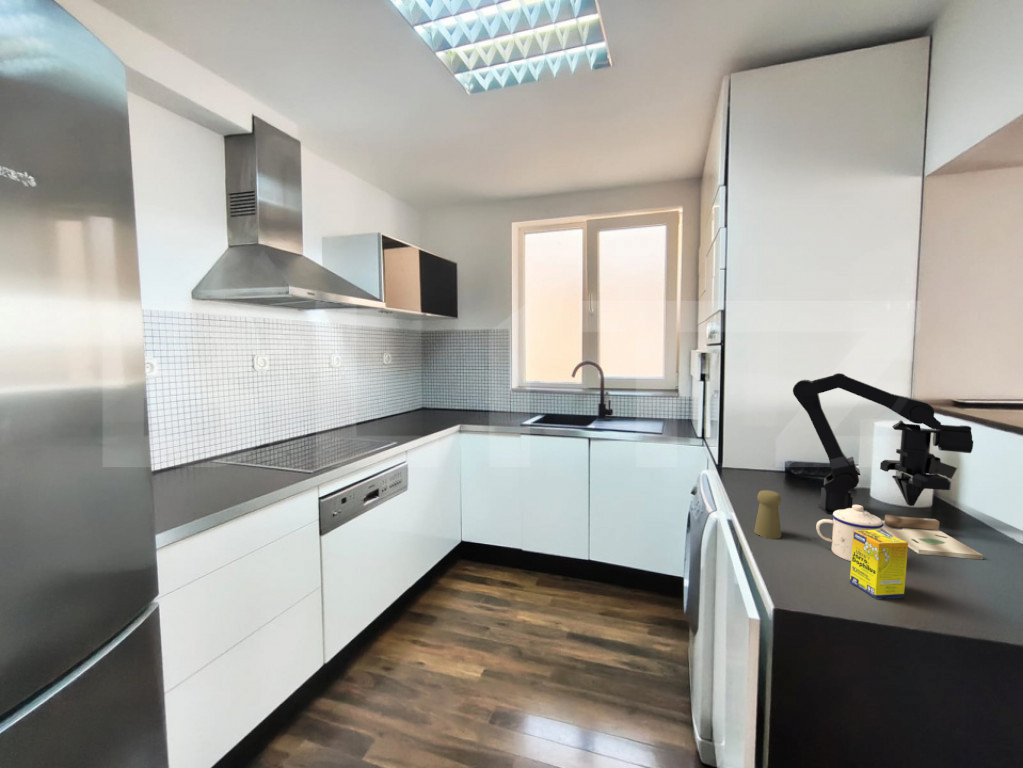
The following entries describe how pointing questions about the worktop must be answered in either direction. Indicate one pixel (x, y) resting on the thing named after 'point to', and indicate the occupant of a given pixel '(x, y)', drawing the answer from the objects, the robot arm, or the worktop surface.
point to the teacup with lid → (848, 528)
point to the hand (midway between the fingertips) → (910, 505)
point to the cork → (768, 515)
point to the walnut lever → (911, 522)
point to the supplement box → (878, 563)
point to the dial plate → (932, 542)
